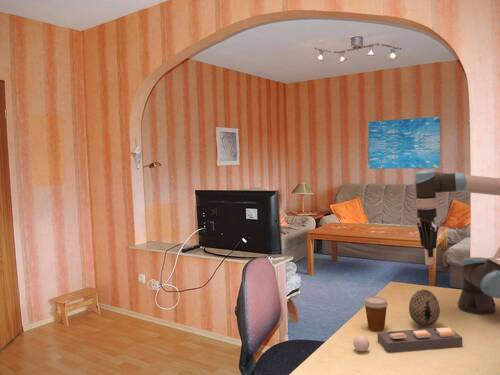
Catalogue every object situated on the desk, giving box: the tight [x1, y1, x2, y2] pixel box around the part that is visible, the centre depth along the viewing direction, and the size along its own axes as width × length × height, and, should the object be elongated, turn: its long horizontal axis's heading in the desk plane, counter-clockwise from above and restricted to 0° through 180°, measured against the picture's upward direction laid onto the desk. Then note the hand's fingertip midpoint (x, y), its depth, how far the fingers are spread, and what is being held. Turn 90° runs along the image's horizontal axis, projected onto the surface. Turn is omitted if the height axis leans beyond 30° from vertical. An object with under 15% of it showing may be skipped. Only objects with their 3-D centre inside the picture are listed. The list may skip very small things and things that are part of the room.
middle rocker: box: [413, 330, 431, 338], centre depth 162 cm, size 5×4×1 cm
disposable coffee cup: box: [363, 296, 389, 332], centre depth 180 cm, size 10×10×12 cm
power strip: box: [376, 326, 463, 354], centre depth 164 cm, size 28×10×4 cm, turn 95°
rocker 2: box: [435, 326, 455, 337], centre depth 163 cm, size 5×4×1 cm
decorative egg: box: [408, 289, 441, 328], centre depth 181 cm, size 12×12×15 cm
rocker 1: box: [389, 333, 407, 339], centre depth 161 cm, size 5×4×1 cm
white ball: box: [353, 335, 370, 353], centre depth 162 cm, size 8×6×6 cm
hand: (429, 264), depth 183 cm, fingers closed
